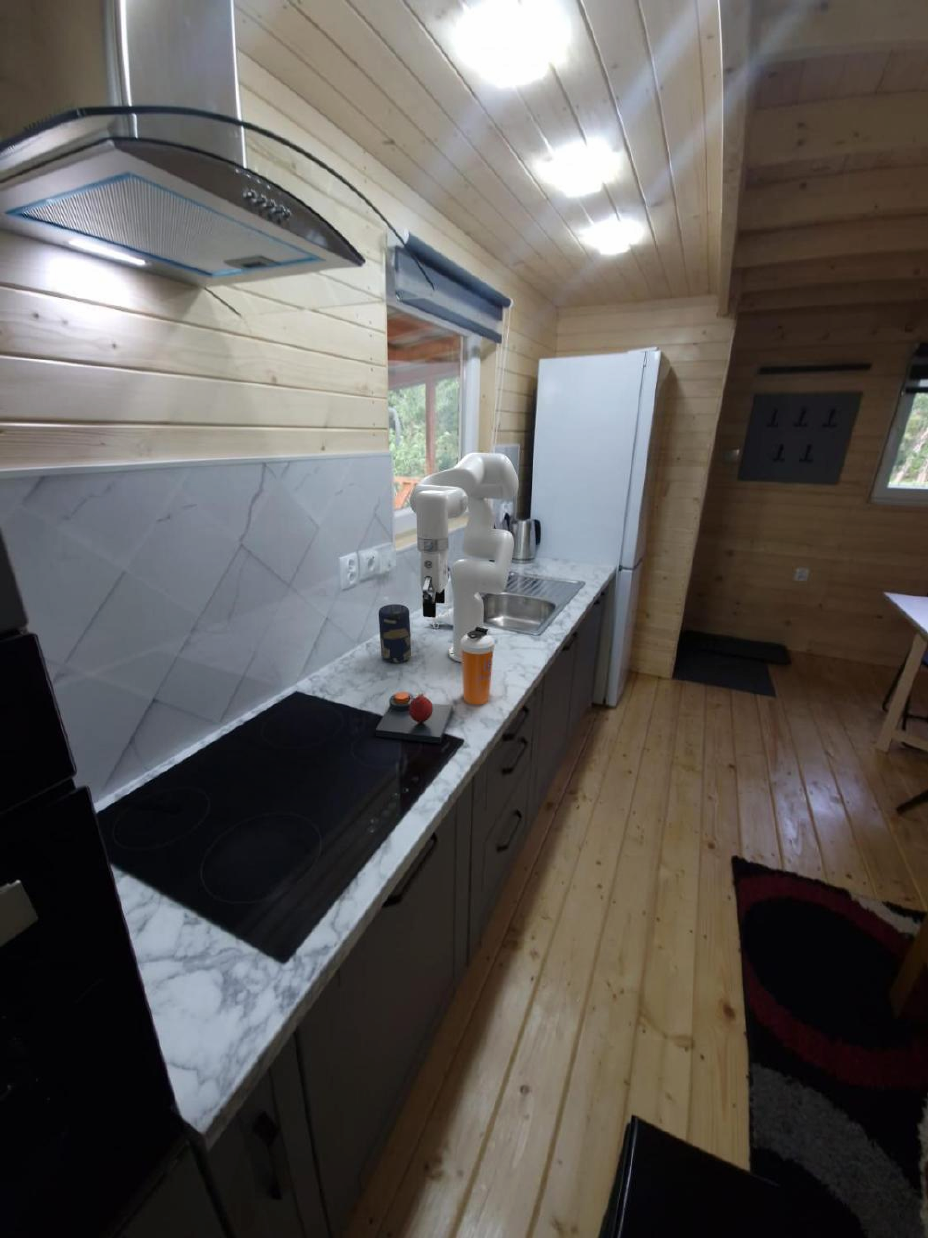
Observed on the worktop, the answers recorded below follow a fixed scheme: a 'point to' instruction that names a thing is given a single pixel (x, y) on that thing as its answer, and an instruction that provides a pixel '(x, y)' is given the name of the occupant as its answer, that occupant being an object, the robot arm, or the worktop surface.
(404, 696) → the button
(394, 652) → the canister
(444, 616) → the rocket engine
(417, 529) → the robot arm
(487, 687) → the shaker bottle
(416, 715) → the onion
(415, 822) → the worktop surface
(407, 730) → the scale
